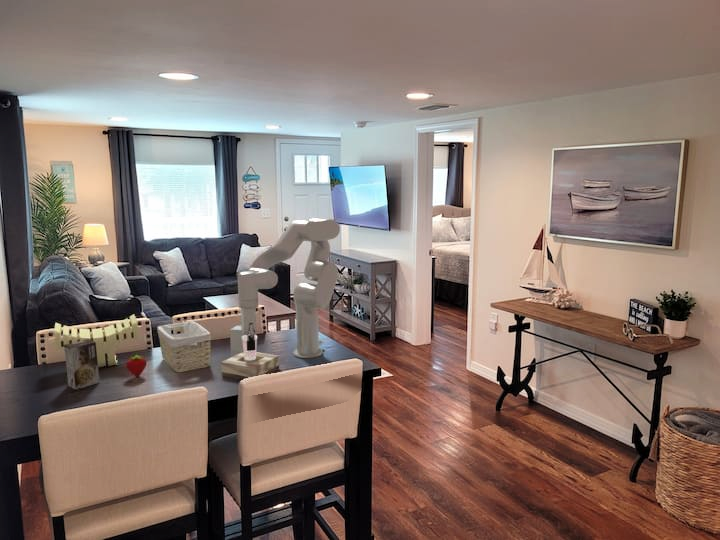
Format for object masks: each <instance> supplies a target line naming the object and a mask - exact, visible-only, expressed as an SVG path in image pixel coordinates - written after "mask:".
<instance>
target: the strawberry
mask: <svg viewBox="0 0 720 540" xmlns="http://www.w3.org/2000/svg"><path fill="white" fill-rule="evenodd" d="M147 363H148V362H147V360H146V358H144V356H143V355H138V354H136V355H134V356H131V357H129V358H128V360H127V361H126V363H125V367H126V369H127V370H128V372H129V373H130V374H131V375H133V376H134V377H135V378H138V377H140V376H141V375H142V373H143V372H144V371H145V369H146V367H147Z"/></svg>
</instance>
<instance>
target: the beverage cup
mask: <svg viewBox="0 0 720 540" xmlns="http://www.w3.org/2000/svg"><path fill="white" fill-rule="evenodd" d="M249 333H250V331H249ZM249 335H250V334H249ZM254 335H255V350H252V351H247V335H244V336H242V340H243V349H244V359H245V360H255V359H256V352H257V347H258V345H257V344H258V335H257V334H254Z"/></svg>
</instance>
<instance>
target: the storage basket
mask: <svg viewBox="0 0 720 540" xmlns="http://www.w3.org/2000/svg"><path fill="white" fill-rule="evenodd" d="M156 328H157V330H156V331H157V334H158V339H159V344H160V351H161V357H162V359H163V360H164V361H165V363H167V365H168V366H169V367H170V368H171V369H172V370H173V371H174V372H175V373H184V372H188V371H193V370H199V369H204V368H207V367H210V366H211V351H212V350H211V340H212V336H211V333H210V331H208V330H207V329H206V328H205V327H203V326H202V325H200V324H199V323H197V322H195V321H193V320H191V321H184V322H183V321H182V322H175V323H170V324H164V325H158V326H157V327H156ZM177 330H183V332H181V333H175V334H174V333H172V331H177Z"/></svg>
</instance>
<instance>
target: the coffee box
mask: <svg viewBox="0 0 720 540" xmlns="http://www.w3.org/2000/svg"><path fill="white" fill-rule="evenodd" d="M63 349H64V356H65V366H66V375H67V385H69V386H68V387H70V388H71V387H72V388H71V389H73V388H74V389H73V390H75V389H76V390H79V388H80V389H82V388H86V387H89V386H92V385H97V384H100V383H99V382H100V381H101V379H100V372H99V371H100V370H99V367H98V361H97V351H96V342H94V341H92V340H90V339H87V340H82V341H78V342H74V343H69V344H65V345H64V347H63Z"/></svg>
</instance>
